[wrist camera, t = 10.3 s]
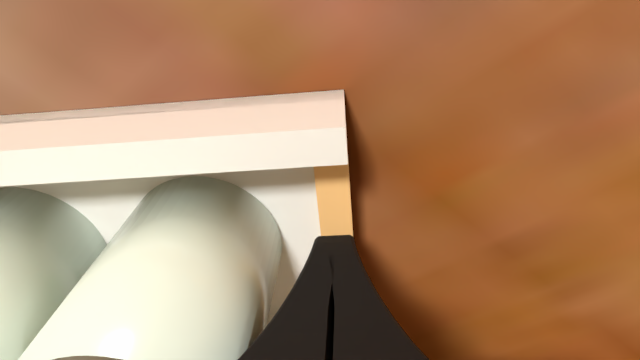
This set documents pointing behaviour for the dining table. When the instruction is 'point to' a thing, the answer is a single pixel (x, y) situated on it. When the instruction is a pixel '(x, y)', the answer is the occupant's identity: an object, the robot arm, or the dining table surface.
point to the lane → (194, 161)
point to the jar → (173, 281)
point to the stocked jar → (38, 262)
